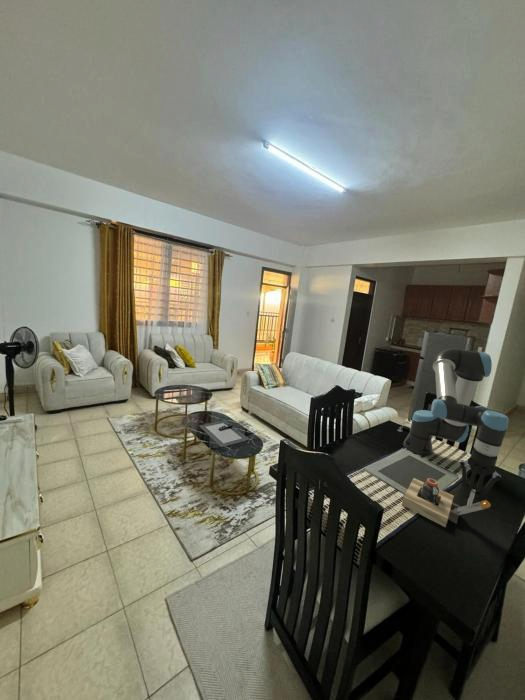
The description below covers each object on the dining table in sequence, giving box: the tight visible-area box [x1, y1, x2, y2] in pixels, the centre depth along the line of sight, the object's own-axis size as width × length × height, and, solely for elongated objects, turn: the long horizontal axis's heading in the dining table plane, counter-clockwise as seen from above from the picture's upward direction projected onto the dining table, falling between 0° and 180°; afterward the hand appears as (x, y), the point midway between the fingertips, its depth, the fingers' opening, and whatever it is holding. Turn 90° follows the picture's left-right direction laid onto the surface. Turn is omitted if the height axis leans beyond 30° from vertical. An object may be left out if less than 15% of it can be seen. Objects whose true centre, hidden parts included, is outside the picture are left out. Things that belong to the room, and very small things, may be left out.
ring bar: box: [453, 499, 492, 516], centre depth 110 cm, size 4×1×14 cm
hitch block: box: [401, 477, 462, 528], centre depth 119 cm, size 18×19×4 cm
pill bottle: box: [419, 477, 439, 505], centre depth 119 cm, size 6×6×11 cm
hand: (469, 505), depth 110 cm, fingers closed
